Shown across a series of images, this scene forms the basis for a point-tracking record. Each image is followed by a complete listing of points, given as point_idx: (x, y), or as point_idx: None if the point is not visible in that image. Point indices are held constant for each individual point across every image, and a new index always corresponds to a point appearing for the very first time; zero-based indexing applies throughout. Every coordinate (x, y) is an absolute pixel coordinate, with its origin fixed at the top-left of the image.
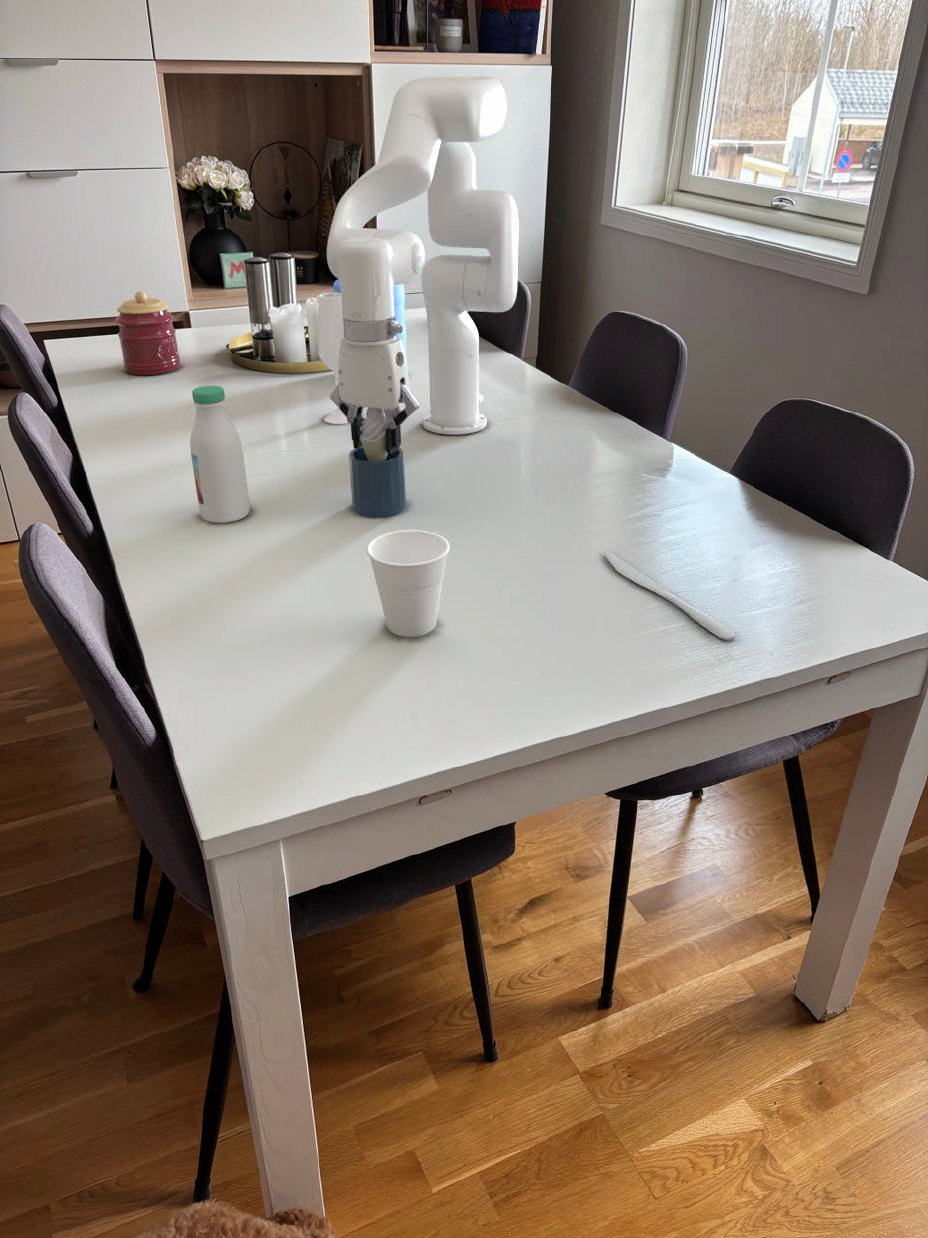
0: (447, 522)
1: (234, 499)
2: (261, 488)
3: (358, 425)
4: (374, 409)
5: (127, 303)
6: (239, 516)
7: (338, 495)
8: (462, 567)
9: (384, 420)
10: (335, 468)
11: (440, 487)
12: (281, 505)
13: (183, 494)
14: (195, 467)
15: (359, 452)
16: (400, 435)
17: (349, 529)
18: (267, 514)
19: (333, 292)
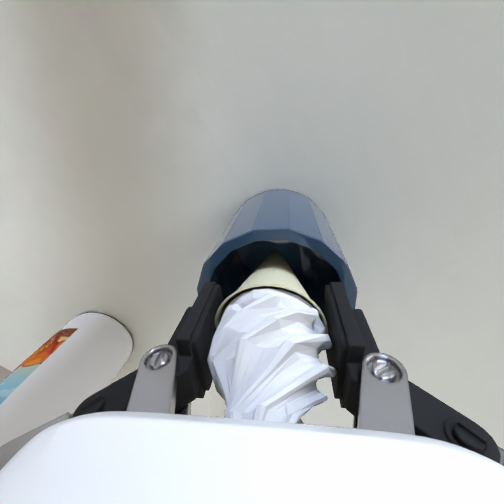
0: (434, 248)
1: (116, 374)
2: (56, 249)
3: (207, 376)
4: None
5: None
6: (131, 349)
7: (180, 222)
8: (496, 367)
9: (309, 384)
10: (63, 89)
11: (358, 70)
12: (136, 290)
13: (4, 306)
14: None
15: (211, 281)
16: (369, 330)
17: None
18: (146, 320)
19: None
